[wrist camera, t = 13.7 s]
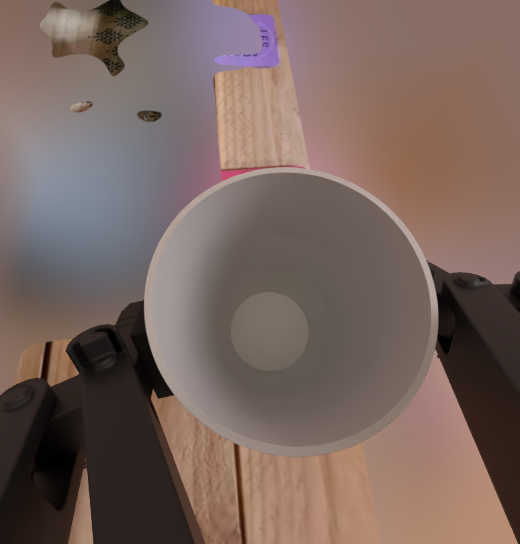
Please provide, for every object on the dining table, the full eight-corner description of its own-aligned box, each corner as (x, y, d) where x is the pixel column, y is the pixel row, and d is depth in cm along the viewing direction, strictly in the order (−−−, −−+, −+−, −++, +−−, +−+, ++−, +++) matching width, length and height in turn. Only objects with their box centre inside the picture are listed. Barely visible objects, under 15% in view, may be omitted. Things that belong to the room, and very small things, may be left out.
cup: (203, 406, 16) (132, 472, 6) (203, 271, 18) (152, 170, 9) (343, 395, 16) (477, 441, 7) (324, 264, 19) (401, 162, 9)
